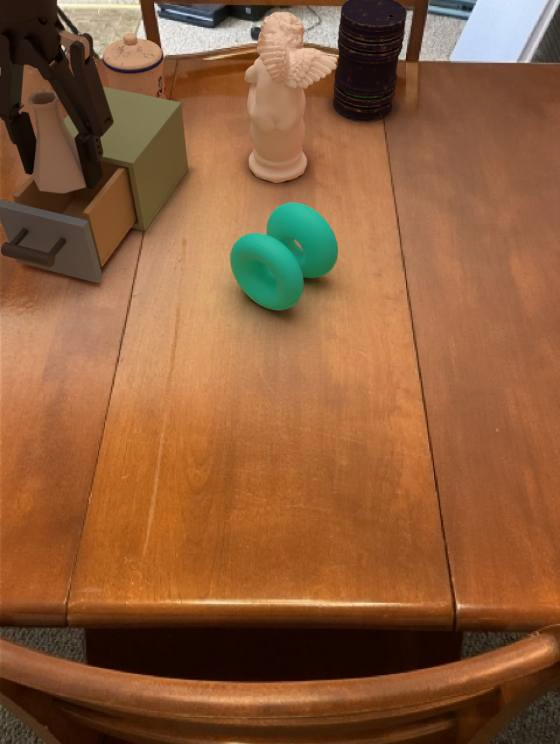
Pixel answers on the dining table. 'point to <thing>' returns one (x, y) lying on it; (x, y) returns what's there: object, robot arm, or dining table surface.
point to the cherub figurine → (281, 96)
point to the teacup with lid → (135, 66)
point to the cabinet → (145, 147)
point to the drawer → (69, 224)
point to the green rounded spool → (284, 256)
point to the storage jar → (368, 58)
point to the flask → (54, 147)
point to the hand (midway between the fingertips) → (64, 174)
